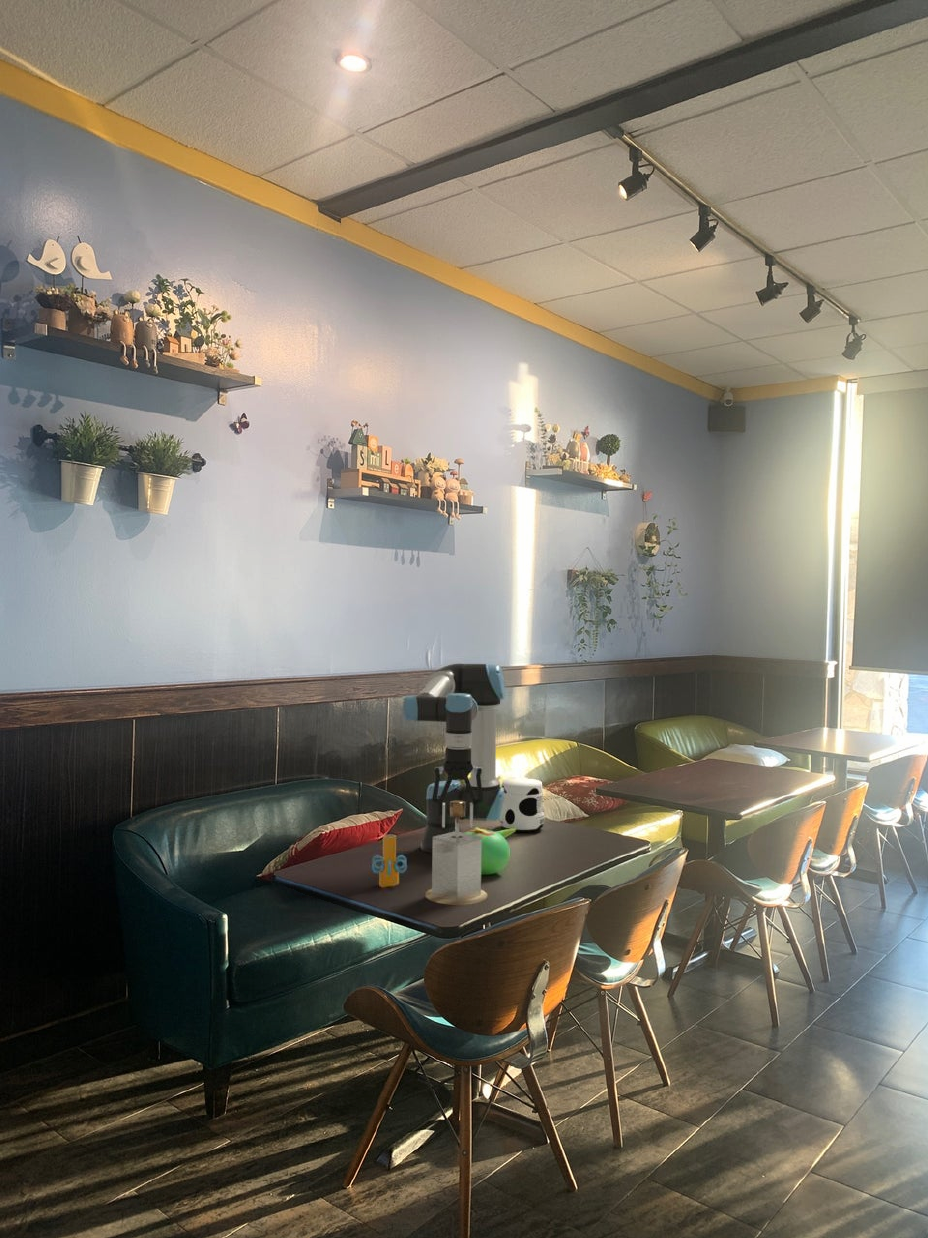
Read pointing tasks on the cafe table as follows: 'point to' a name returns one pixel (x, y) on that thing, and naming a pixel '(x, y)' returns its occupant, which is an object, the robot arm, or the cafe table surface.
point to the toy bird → (493, 849)
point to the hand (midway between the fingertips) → (457, 826)
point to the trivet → (464, 902)
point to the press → (456, 866)
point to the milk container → (522, 805)
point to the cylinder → (389, 863)
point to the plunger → (457, 814)
